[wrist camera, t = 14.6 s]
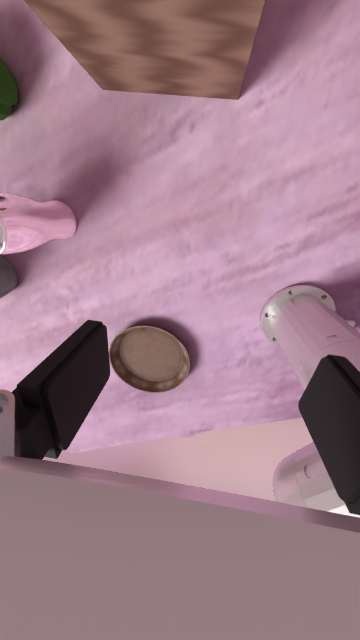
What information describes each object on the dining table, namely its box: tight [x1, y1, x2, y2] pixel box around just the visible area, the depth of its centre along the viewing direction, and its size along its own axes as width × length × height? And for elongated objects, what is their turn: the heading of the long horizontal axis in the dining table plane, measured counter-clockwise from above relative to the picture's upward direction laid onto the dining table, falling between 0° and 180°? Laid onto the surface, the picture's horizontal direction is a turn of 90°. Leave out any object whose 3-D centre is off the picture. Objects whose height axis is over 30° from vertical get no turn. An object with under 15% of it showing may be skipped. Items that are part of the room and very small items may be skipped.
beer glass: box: [0, 193, 77, 255], centre depth 30 cm, size 7×7×15 cm
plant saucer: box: [109, 326, 190, 393], centre depth 47 cm, size 18×18×3 cm
